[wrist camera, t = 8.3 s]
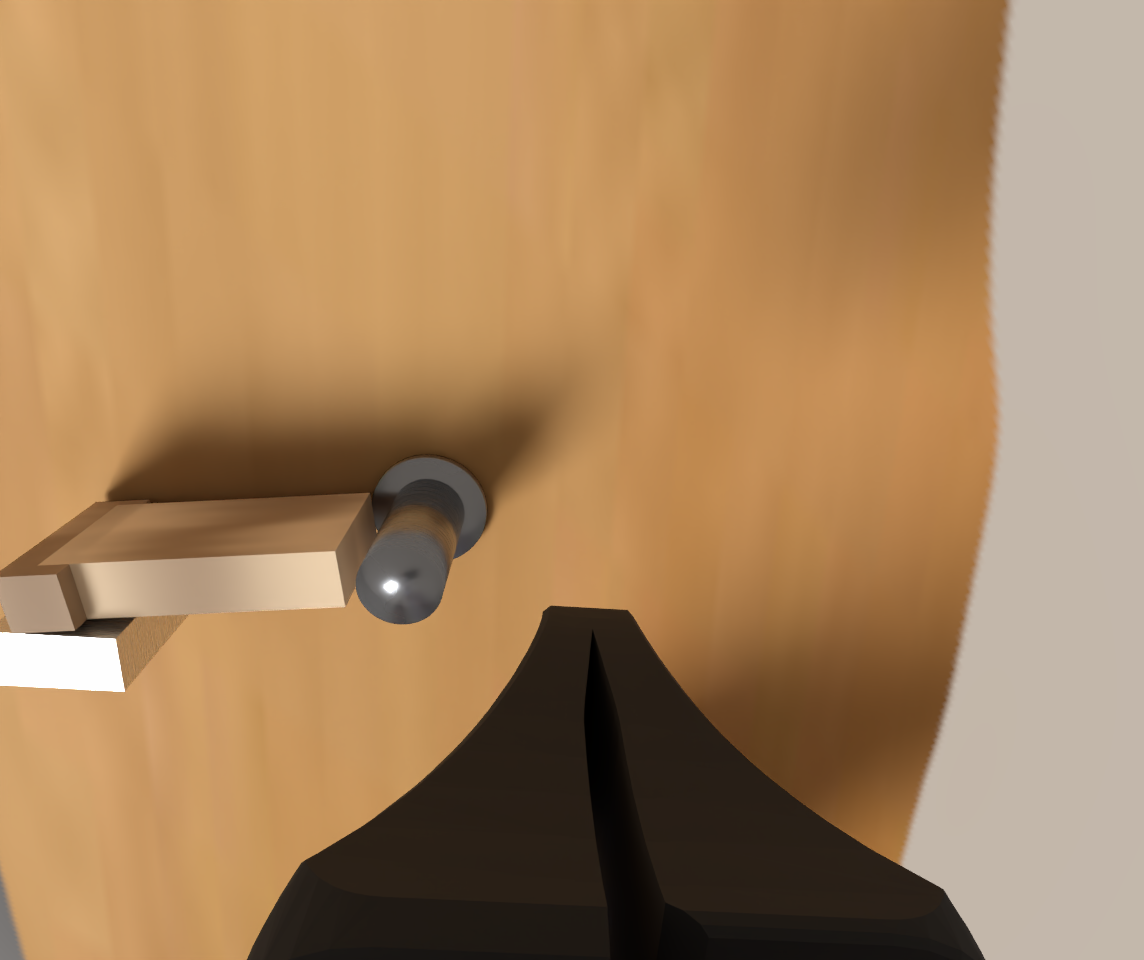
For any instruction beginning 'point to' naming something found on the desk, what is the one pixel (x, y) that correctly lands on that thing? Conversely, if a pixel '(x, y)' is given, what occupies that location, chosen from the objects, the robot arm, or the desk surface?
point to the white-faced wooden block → (84, 653)
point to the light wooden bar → (190, 560)
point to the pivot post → (418, 536)
